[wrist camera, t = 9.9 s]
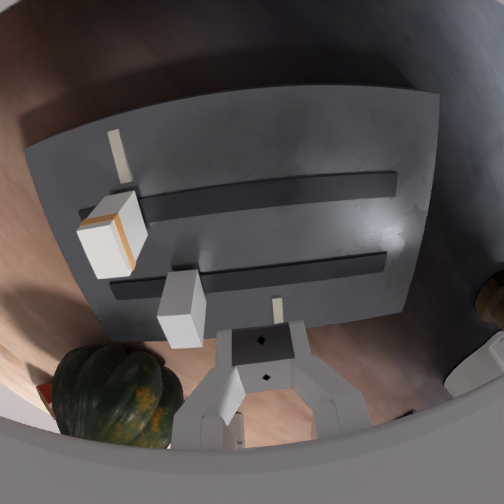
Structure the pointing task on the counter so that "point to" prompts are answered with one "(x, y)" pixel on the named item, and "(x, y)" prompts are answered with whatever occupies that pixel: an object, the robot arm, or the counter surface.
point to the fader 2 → (183, 309)
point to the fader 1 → (113, 235)
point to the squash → (115, 397)
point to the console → (252, 201)
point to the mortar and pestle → (492, 300)
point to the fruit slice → (46, 396)
